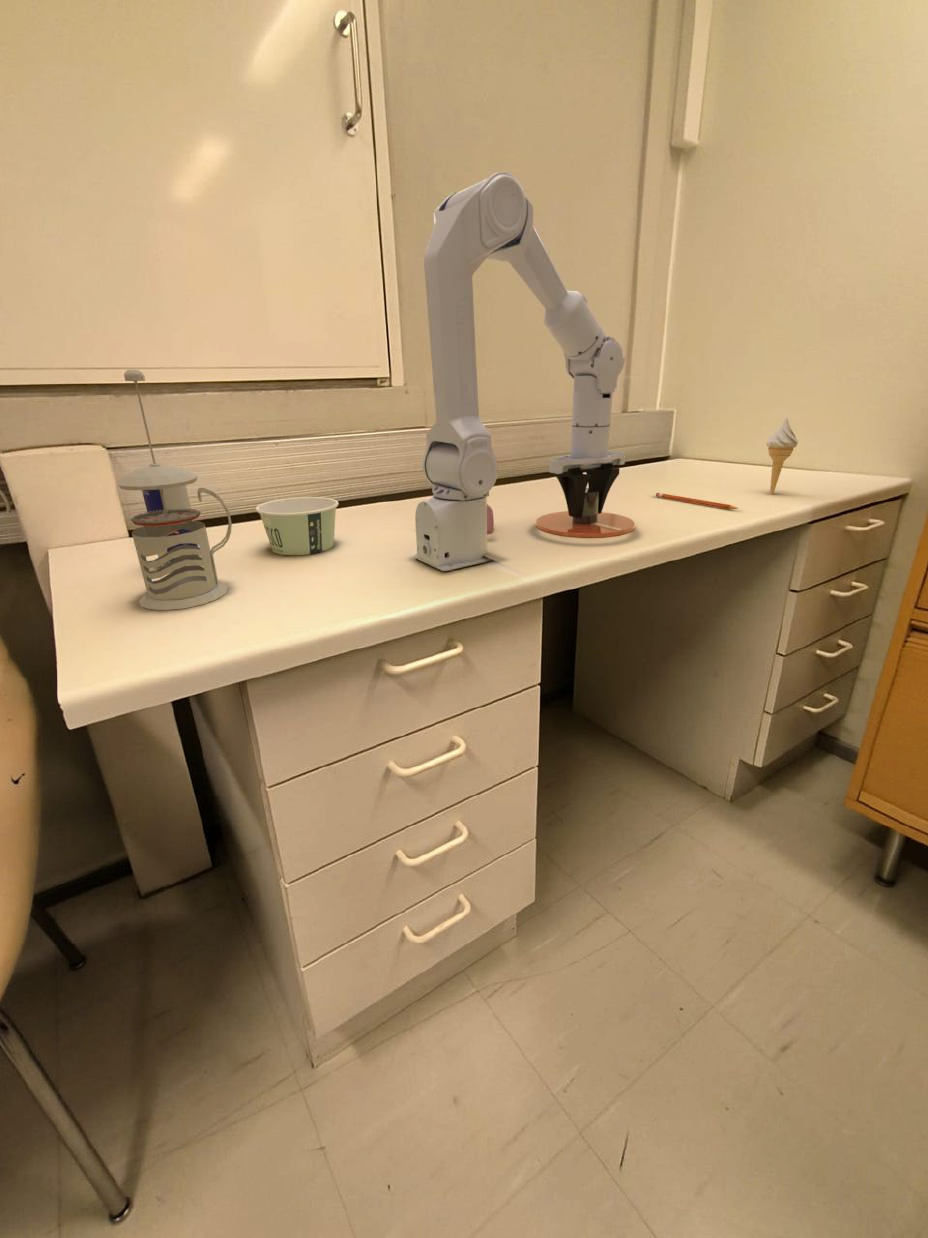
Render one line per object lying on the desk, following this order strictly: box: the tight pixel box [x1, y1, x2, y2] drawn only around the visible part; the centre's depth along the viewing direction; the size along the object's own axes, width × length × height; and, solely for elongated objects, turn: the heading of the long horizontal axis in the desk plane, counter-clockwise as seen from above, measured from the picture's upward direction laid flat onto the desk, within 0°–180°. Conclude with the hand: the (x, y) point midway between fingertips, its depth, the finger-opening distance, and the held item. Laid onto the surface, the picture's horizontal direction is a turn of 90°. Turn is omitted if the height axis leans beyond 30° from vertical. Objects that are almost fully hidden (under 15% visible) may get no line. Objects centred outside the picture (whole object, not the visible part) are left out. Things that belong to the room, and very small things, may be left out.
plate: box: [535, 487, 636, 539], centre depth 90 cm, size 16×16×6 cm
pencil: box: [655, 492, 740, 510], centre depth 109 cm, size 1×18×1 cm, turn 35°
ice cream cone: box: [766, 417, 799, 495], centre depth 114 cm, size 6×6×15 cm
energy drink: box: [141, 485, 202, 567], centre depth 77 cm, size 5×5×12 cm
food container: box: [255, 496, 339, 556], centre depth 85 cm, size 12×12×7 cm
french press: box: [116, 368, 233, 611], centre depth 64 cm, size 10×12×25 cm
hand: (585, 514), depth 91 cm, fingers closed on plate, 4 cm apart
